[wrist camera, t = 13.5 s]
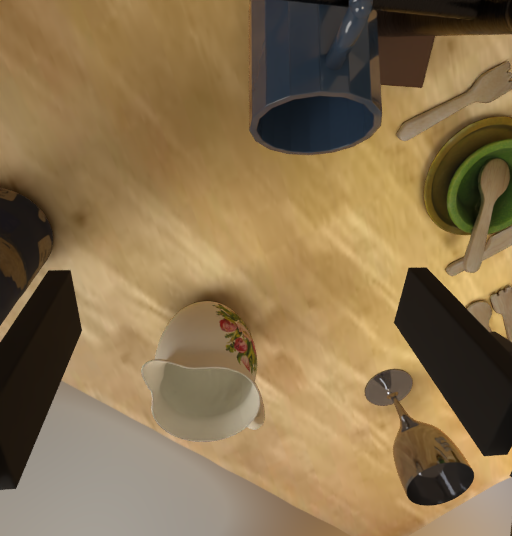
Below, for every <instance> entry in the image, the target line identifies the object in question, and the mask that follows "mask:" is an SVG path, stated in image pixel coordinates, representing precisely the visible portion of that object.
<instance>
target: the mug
mask: <svg viewBox="0 0 512 536" xmlns="http://www.w3.org/2000/svg"><path fill="white" fill-rule="evenodd" d="M381 120H382V103H381V84H380V65H379V47H378V28H377V10H373V0H349V7H340V6H330V5H321V4H311V3H301V2H291V1H282V0H250V1H249V131H250V133H251V134H252V136H253V138H254V139H255V141H256V142H258V143H259V144H261V145H263V146H265V147H266V148H268V149H270V150H274V151H278V152H282V153H286V154H298V155H315V154H324V153H332V152H336V151H340V150H343V149H347V148H350V147H353V146H355V145H357V144H359V143H361V142H363V141H365V140H366V139H368V138H370V137H371V136H372V135H373V134H374V133H375V132H376V131H377V129H378V128H379V127H380V126H381Z"/></svg>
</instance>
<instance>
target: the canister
mask: <svg viewBox="0 0 512 536" xmlns="http://www.w3.org/2000/svg"><path fill="white" fill-rule="evenodd" d="M52 245H53V234H52V229H51V226H50V224H49V221H48V220H47V218H46V216H45V215H44V213H43V212H42V211H41V210H40V208H39V207H38V206H37V205H35V204H34V203H33V202H32V201H30V200H29V199H28V198H26V197H24V196H22V195H21V194H19V193H16V192H14V191H11V190H7V189H3V188H0V325H1V324H2V322H3V321H4V320H5V318H6V317H7V315H8V314H9V312H10V311H11V309H12V308H13V306H14V305H15V304H16V302H17V301H18V299H19V298H20V297H21V296H22V295H23V293H24V292H25V291H26V289H27V288H28V286H29V285H30V283H31V282H32V280H33V279H34V278H35V276H36V275H37V273H38V272H39V270H40V269H41V267H42V266H43V265H44V263H45V262H46V260H47V259H48V257H49V255H50V253H51V250H52Z"/></svg>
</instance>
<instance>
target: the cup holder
mask: <svg viewBox="0 0 512 536" xmlns="http://www.w3.org/2000/svg"><path fill="white" fill-rule="evenodd" d="M282 1H291V2H301V3H311V4H321V5H330V6H340V7H349V0H282ZM373 10H377V28H378V47H379V65H380V84H381V85H392V86H405V87H418V88H422V86H423V82H424V78H425V74H426V70H427V66H428V62H429V58H430V54H431V50H432V46H433V42H434V38H435V36H447V35H495V34H512V0H373Z"/></svg>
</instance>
